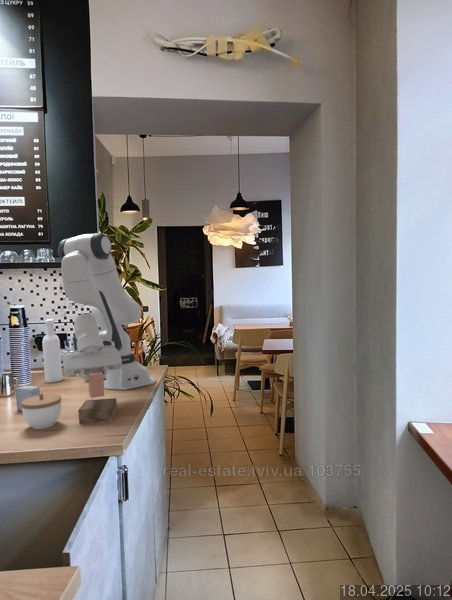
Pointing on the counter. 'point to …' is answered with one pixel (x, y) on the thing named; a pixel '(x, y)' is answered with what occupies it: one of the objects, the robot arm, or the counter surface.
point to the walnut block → (97, 410)
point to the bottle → (51, 354)
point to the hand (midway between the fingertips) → (96, 380)
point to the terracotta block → (96, 384)
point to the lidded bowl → (41, 410)
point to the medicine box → (25, 394)
